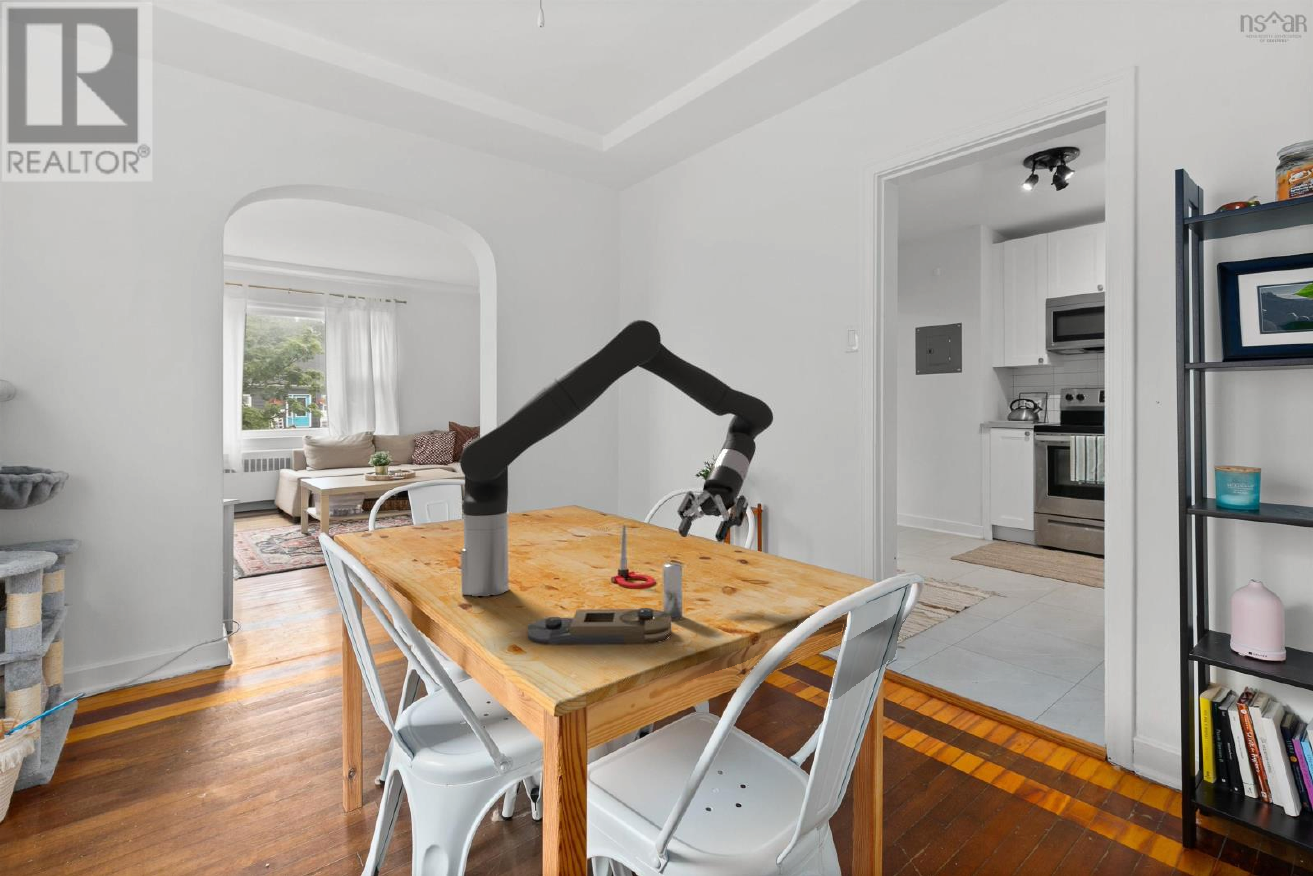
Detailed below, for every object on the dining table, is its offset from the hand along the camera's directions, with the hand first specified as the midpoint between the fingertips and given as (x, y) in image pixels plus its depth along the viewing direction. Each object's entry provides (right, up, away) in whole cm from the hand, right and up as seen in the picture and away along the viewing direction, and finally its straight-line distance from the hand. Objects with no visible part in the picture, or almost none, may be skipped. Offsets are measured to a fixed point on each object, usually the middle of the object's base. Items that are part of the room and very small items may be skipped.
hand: (699, 537), depth 126 cm
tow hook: (-14, -13, +16) cm, 25 cm away
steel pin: (-6, -14, -8) cm, 17 cm away
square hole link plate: (-19, -14, -17) cm, 29 cm away
